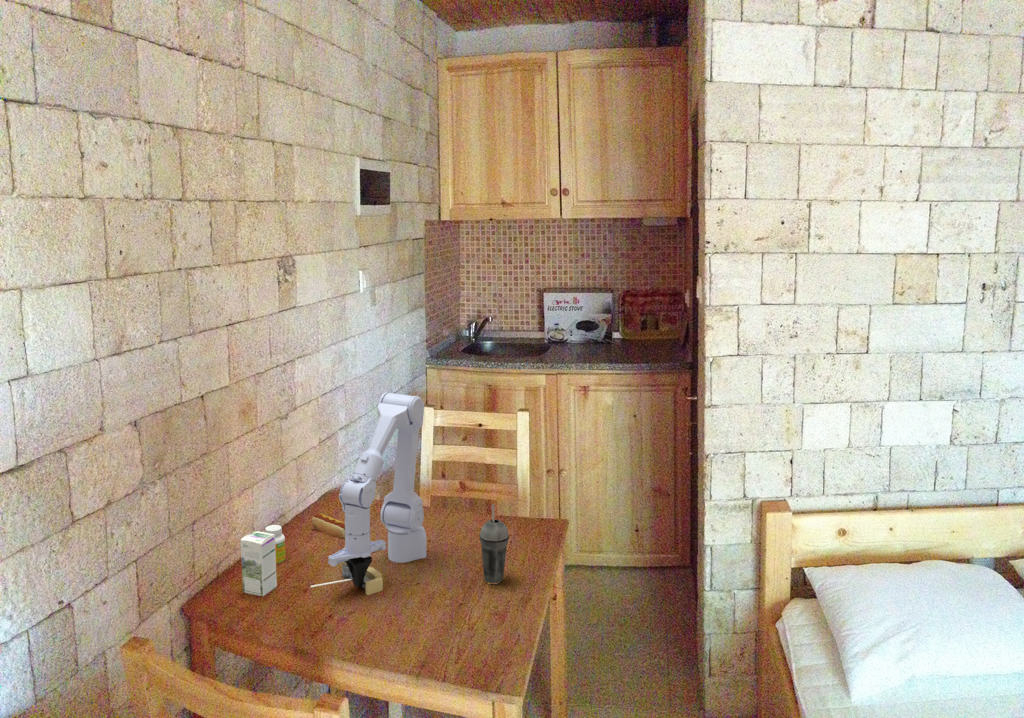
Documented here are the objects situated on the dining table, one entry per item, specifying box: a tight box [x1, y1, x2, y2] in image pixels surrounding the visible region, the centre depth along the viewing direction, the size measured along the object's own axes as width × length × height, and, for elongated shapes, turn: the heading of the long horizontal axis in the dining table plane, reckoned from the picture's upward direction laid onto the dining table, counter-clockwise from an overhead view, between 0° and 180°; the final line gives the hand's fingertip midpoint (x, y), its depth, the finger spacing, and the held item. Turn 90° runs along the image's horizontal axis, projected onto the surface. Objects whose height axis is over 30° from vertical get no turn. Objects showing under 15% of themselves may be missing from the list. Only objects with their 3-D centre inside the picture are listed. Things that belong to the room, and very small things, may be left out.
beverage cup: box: [478, 504, 510, 583], centre depth 202 cm, size 7×7×20 cm
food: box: [311, 513, 345, 539], centre depth 228 cm, size 14×6×5 cm, turn 52°
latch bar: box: [341, 562, 371, 591], centre depth 198 cm, size 12×4×3 cm, turn 38°
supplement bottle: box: [264, 524, 287, 565], centre depth 209 cm, size 5×5×10 cm
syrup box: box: [240, 530, 278, 597], centre depth 192 cm, size 6×6×14 cm
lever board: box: [310, 562, 384, 596], centre depth 197 cm, size 16×18×5 cm
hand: (358, 585), depth 195 cm, fingers closed
